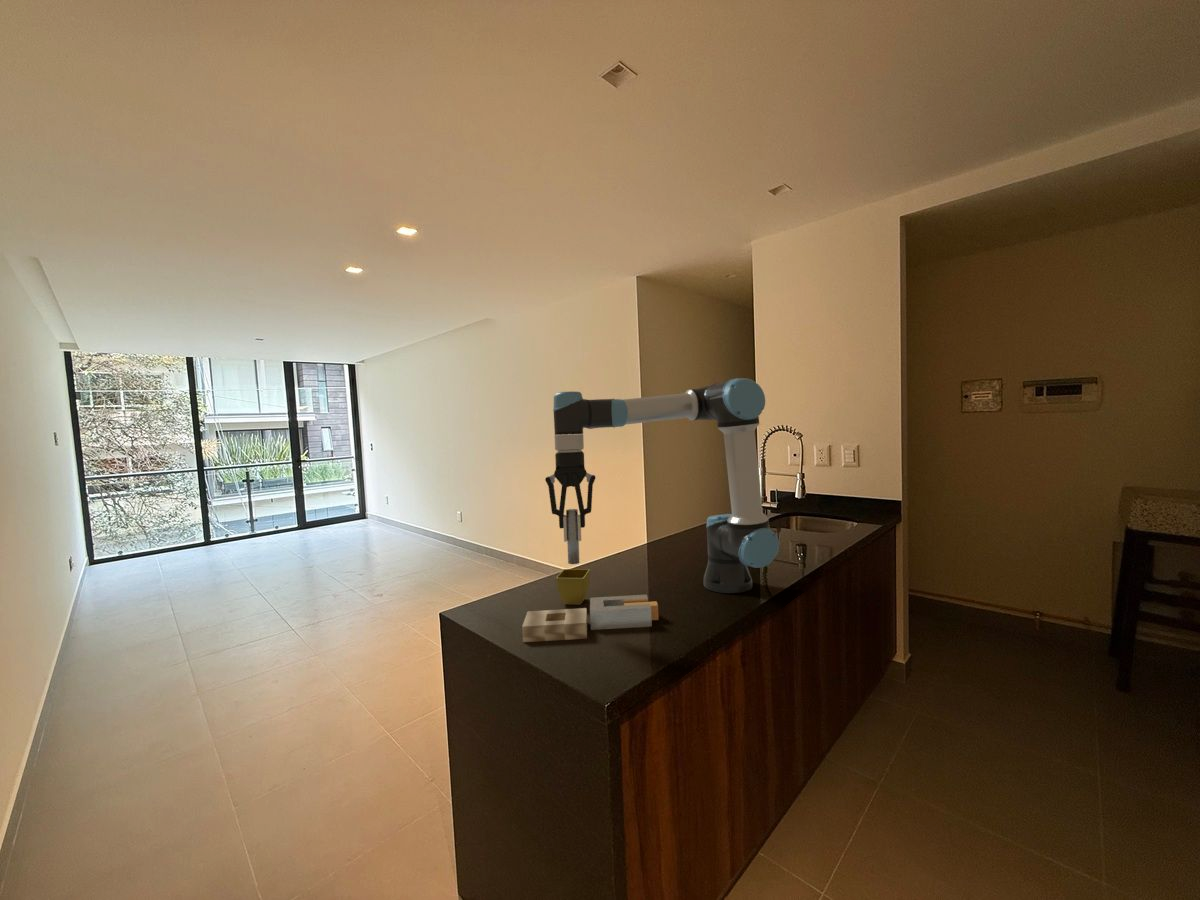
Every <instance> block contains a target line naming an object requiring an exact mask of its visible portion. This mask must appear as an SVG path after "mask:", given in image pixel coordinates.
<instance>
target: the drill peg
mask: <svg viewBox="0 0 1200 900" xmlns="http://www.w3.org/2000/svg"><path fill="white" fill-rule="evenodd" d="M578 510H579V509H577V508H576V509H575V508H570V509H569V508H568V509H566V511H565V512H566V513H565V515H566V519H567V542H566V543H567V564H568V565H577V564H579V563H580V562H581V561H580V541H578V522H577V516H578V515H579V513H578Z"/></svg>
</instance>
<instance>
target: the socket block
mask: <svg viewBox="0 0 1200 900" xmlns="http://www.w3.org/2000/svg"><path fill="white" fill-rule="evenodd" d="M636 602H649V598H648V595H647V594H636V595H635V594H633V595H632V594H631V595H618V596H617V595H615V596H613V595H612V596H599V597H589V618H590V620H589V621H590V630H591V631H597V630H599V631H600V630H614V629H632V628H648V627H653V626H652V625H653V624H652V623H653V620H651V606H650V604H640V605H624V603H636Z"/></svg>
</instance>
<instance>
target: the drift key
mask: <svg viewBox="0 0 1200 900" xmlns="http://www.w3.org/2000/svg"><path fill="white" fill-rule="evenodd" d="M640 604H650V606H651V620H652V621H659V617H660V615H659V605H658V602H657V600H656V601H648V602H636V603H624V605H640Z"/></svg>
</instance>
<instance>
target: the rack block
mask: <svg viewBox="0 0 1200 900" xmlns="http://www.w3.org/2000/svg"><path fill="white" fill-rule="evenodd" d="M521 630H522V631H521V633H522V642H523V643H531V642H532V643H533V642H549V641H550V642H551V641H569V640H581V639H582V640H587V639H588V612H587V607H582V608H581V607H579V608H565V609H547V610H546V609H544V610H543V609H542V610H528V611H527V612H526V615H525V618H524V619H523V623H522V629H521Z"/></svg>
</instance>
